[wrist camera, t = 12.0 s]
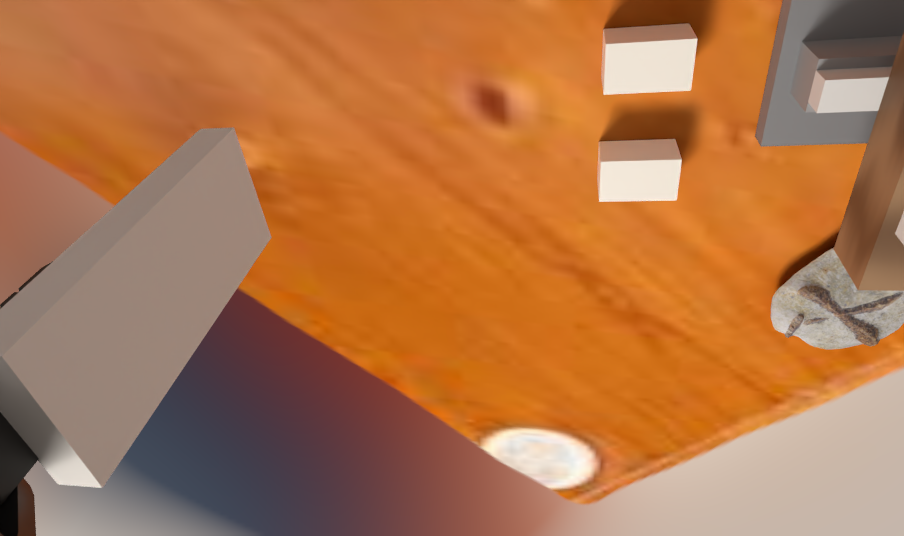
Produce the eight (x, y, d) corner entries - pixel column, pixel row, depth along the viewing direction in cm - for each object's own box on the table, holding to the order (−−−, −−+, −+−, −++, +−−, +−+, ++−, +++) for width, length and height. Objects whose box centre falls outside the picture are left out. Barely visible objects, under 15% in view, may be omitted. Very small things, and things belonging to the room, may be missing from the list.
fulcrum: (788, -30, 34) (824, -3, 29) (1037, -49, 32) (1118, -23, 27) (755, 136, 40) (780, 180, 35) (962, 129, 38) (1018, 176, 33)
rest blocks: (603, 28, 37) (605, 44, 35) (689, 23, 36) (697, 38, 34) (597, 180, 44) (599, 201, 41) (670, 178, 43) (676, 200, 40)
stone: (833, 347, 50) (848, 377, 47) (744, 300, 48) (755, 329, 46) (972, 247, 43) (999, 276, 40) (873, 188, 41) (894, 214, 39)
